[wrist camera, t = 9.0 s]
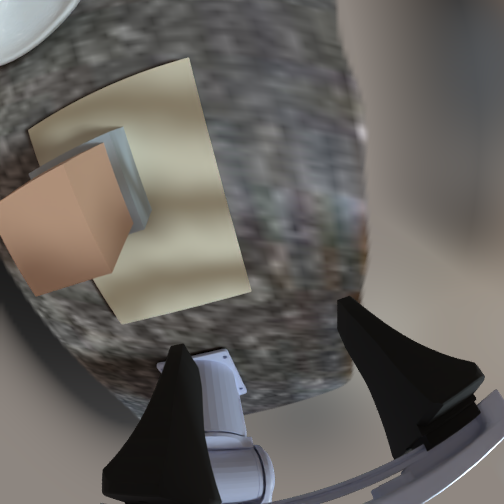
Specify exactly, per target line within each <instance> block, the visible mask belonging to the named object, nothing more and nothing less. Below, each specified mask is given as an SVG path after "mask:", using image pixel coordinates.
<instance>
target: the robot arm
mask: <svg viewBox="0 0 504 504" xmlns="http://www.w3.org/2000/svg"><path fill="white" fill-rule="evenodd" d="M337 329H338V332H339V334H340V336H341V339H342V341H343V343H344V345H345V348H346V349H347V351H348V353H349V355H350V356H351V358H352V360H353V361H354V363H355V365H356V367H357V368H358V370H359V372H360V373H361V375H362V377H363V378H364V380H365V382H366V384H367V386H368V388H369V390H370V392H371V395H372V397H373V400H374V402H375V405H376V407H377V410H378V412H379V415H380V418H381V421H382V424H383V426H384V429H385V432H386V436H387V439H388V442H389V445H390V449H391V453H392V456H393V458H394V460H393V461H391V462H389V463H387V464H385V465H382V466H380V467H378V468H376V469H374V470H371V471H369V472H367V473H364V474H362V475H360V476H357V477H355V478H352V479H349V480H347V481H344V482H341V483H338V484H336V485H333V486H330V487H327V488H324V489H320V490H317V491H314V492H311V493H307V494H303V495H300V496H296V497H292V498H288V499H283V500H279V501H274V502H272V492H273V489H274V483H275V476H274V469H273V465H272V462H271V459H270V457H269V455H268V454H267V452H266V451H264V450H263V448H262V447H260V446H259V445H253V441H252V437H246V435H247V434H246V427H245V421H244V416H243V411H242V406H241V400H240V395H241V394H245V393H246V392H247V390H246V387H245V385H244V383H243V381H242V379H241V377H240V375H239V373H238V371H237V369H236V367H235V365H234V363H233V361H232V359H231V356H230V354H229V352H228V350H226V349H220V350H216V351H211V352H207V353H203V354H198V355H194V356H191V355H190V353H189V352H188V350H187V348H186V347H185V345H184V344H179V345H174V346H171V347H170V350H169V353H168V356H167V359H166V361H165V362H159V363H157V369H158V370H159V371H160V372H161V375H160V378H159V381H158V383H157V386H156V388H155V391H154V393H153V395H152V397H151V400H150V402H149V404H148V406H147V408H146V410H145V412H144V414H143V416H142V418H141V420H140V422H139V423H138V425H137V426H136V428H135V430H134V431H133V433H132V434H131V436H130V437H129V439H128V440H127V442H126V443H125V444H124V446H123V447H122V448H121V450H120V451H119V452H118V454H117V455H116V456H115V457H114V458H113V459H112V460H111V461H110V462H109V464H108V465H107V466H106V467H105V468H104V469H103V473H102V493H103V494H104V495H105V496H107V497H110V498H113V499H116V500H119V501H122V502H125V504H320V503H324V502H327V501H330V500H333V499H336V498H339V497H342V496H345V495H347V494H350V493H353V492H355V491H358V490H360V489H363V488H365V487H367V486H370V485H372V484H375V483H376V482H379V481H381V480H383V479H385V478H388V477H390V476H391V475H394V474H396V473H398V472H400V471H402V470H403V471H402V472H401V475H400V476H398V477H396V478H394V479H392V480H390V481H388V482H386V483H384V484H382V485H380V486H379V487H377V488H375V489H373V490H372V491H371V493H372V495H373V500H371V501H368V502H365V503H363V504H424V503H425V502H427V501H429V500H430V499H432V498H433V497H434V496H436V495H437V494H439V493H440V492H442V491H443V490H445V489H446V488H447V487H449V486H450V485H451V484H453V483H454V482H455V481H457V480H458V479H459V478H460V477H462V476H463V475H464V474H465V473H467V472H468V471H469V470H470V469H471V468H473V467H474V466H475V465H476V464H477V463H478V462H480V461H481V460H482V459H483V458H484V457H485V456H486V455H487V454H488V453H489V452H490V451H491V450H492V449H494V447H496V446H497V445H498V444H499V443H500V442H501V441H502V440H503V439H504V399H503V398H502V396H501V395H500V393H499V392H498V390H497V389H496V390H494V391H493V392H492V393H490V394H489V395H488V396H487V397H486V398H485V399H483V400H482V401H481V402H480V403H479V404H478V405H476V404H475V402H474V401H475V400H476V397H475V396H474V392H475V391H476V390H477V389H478V387H479V386H480V385H481V384H482V382H483V381H484V378H485V376H484V374H483V373H482V372H481V370H480V369H479V367H478V366H477V365H476V364H475V363H474V362H470V361H465V360H461V359H457V358H454V357H451V356H448V355H445V354H442V353H439V352H437V351H435V350H432V349H430V348H427V347H425V346H423V345H421V344H419V343H417V342H415V341H413V340H411V339H409V338H408V337H406V336H404V335H402V334H401V333H399V332H398V331H396V330H395V329H393V328H392V327H390V326H388V325H387V324H385V323H384V322H383V321H381V320H380V319H379V318H377V317H376V316H375V315H373V314H372V313H371V312H369V311H368V310H367V309H366V308H364V307H363V306H362V305H361V304H359V303H358V302H357V301H356V300H354V299H353V298H352V297H350V296H348V297H345V298H342V299H339V300H337ZM100 504H104V503H100Z"/></svg>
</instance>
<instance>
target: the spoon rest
mask: <svg viewBox="0 0 504 504" xmlns="http://www.w3.org/2000/svg"><path fill="white" fill-rule="evenodd" d="M80 1H81V0H0V66H2V65H5V64H7V63H9V62H12V61H14V60H16V59H18V58H19V57H21V56H23V55H24V54H26V53H28V52H29V51H31V50H32V49H33V48H35V47H36V46H37V45H39V44H40V43H41V42H42V41H44V40H45V39H46V38H47V37H48V36H49V35H50V34H51V33H53V32H54V31H55V30H56V29H57V28H58V27H59V26H60V25H61V24H62V23H63V22H64V21H65V19H66V18H67V17H68V16H69V15H70V14H71V13H72V11H73V10H74V9H75V8H76V6H77V5H78V3H79V2H80Z"/></svg>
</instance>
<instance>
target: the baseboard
mask: <svg viewBox="0 0 504 504" xmlns="http://www.w3.org/2000/svg"><path fill="white" fill-rule="evenodd" d="M28 132H29V135H30V139H31V142H32V145H33V148H34V151H35V154H36V157H37V160H38V163H39V166H40V167H39V168H37V169H35V170H34V171H32V172H30V173H29V177H30V179H33V178H35V177H36V176H38V175H40V174H41V173H43V172H45V171H47V170H48V169H50V168H52V167H54V166H56V165H58V164H60V163H62V162H63V161H65V160H67V159H69V158H71V157H73V156H75V155H77V154H79V153H82V152H84V151H86V150H88V149H90V148H92V147H94V146H97V145H99V144H101V143H104V145H105V148H106V151H107V154H108V157H109V160H110V163H111V166H112V169H113V172H114V174H115V177H116V180H117V183H118V185H119V188H120V191H121V193H122V196H123V198H124V201H125V204H126V206H127V209H128V211H129V214H130V216H131V218H132V221H133V226H132V228H131V230H130V232H129V234H128V237H127V239H126V241H125V243H124V246H123V248H122V250H121V253H120V255H119V257H118V260H117V262H116V265H115V267H114V270H113V272H112V273H110V274H107V275H104V276H100V277H97V278H94V279H93V280H94V282H95V284H96V285H97V287H98V289H99V290H100V292H101V293H102V295H103V297H104V298H105V300H106V301H107V303H108V305H109V306H110V308H111V309H112V311H113V312H114V314H115V315H116V317H117V318H118V320H119V321H120V323H121V324H126V323H130V322H134V321H139V320H143V319H147V318H151V317H156V316H160V315H164V314H168V313H172V312H176V311H180V310H184V309H188V308H192V307H196V306H199V305H203V304H207V303H211V302H215V301H218V300H222V299H226V298H230V297H233V296H237V295H241V294H244V293H248V292H251V287H250V284H249V280H248V277H247V273H246V270H245V266H244V263H243V259H242V255H241V252H240V248H239V245H238V241H237V237H236V234H235V230H234V226H233V223H232V219H231V216H230V212H229V208H228V205H227V201H226V197H225V194H224V190H223V186H222V182H221V179H220V175H219V171H218V168H217V164H216V160H215V156H214V153H213V149H212V145H211V141H210V138H209V134H208V130H207V126H206V122H205V119H204V115H203V111H202V107H201V103H200V99H199V95H198V92H197V88H196V84H195V80H194V76H193V72H192V68H191V64H190V60H189V58H185V59H181V60H178V61H175V62H171V63H168V64H165V65H162V66H159V67H156V68H153V69H150V70H147V71H144V72H141V73H139V74H136V75H133V76H131V77H128V78H126V79H123V80H121V81H119V82H116V83H114V84H111V85H109V86H107V87H105V88H103V89H100V90H98V91H96V92H94V93H92V94H90V95H88V96H86V97H84V98H82V99H80V100H78V101H76V102H74V103H72V104H70V105H69V106H67V107H65V108H63V109H61V110H60V111H58V112H56V113H54V114H53V115H51V116H49V117H48V118H46V119H44V120H43V121H41V122H40V123H38V124H37V125H35V126H33V127H32V128H30V129H29V130H28Z"/></svg>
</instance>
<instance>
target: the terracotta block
mask: <svg viewBox="0 0 504 504" xmlns="http://www.w3.org/2000/svg"><path fill="white" fill-rule="evenodd" d="M132 226H133V221H132V218H131V216H130V214H129V211H128V209H127V206H126V204H125V201H124V198H123V196H122V193H121V191H120V188H119V185H118V183H117V180H116V177H115V174H114V172H113V169H112V166H111V163H110V160H109V157H108V154H107V151H106V148H105V145H104V143H101V144H99V145H97V146H94V147H92V148H90V149H88V150H86V151H84V152H82V153H79V154H77V155H75V156H73V157H71V158H69V159H67V160H65V161H63V162H62V163H60V164H58V165H56V166H54V167H52V168H50V169H48V170H47V171H45V172H43V173H41V174H40V175H38V176H36V177H35V178H33V179H31V180H30V181H28V182H27V183H25V184H24V185H22V186H21V187H19V188H18V189H16V190H15V191H13V192H12V193H10V194H9V195H7V196H6V197H5V198H3V199H2V200H1V201H0V235H1V237H2V239H3V241H4V243H5V245H6V247H7V249H8V251H9V253H10V255H11V256H12V258H13V260H14V262H15V264H16V265H17V267H18V269H19V270H20V272H21V274H22V275H23V277H24V279H25V280H26V282H27V284H28V285H29V287H30V288H31V290H32V291H33V293H34V294H35V296H39V295H42V294H46V293H49V292H52V291H55V290H58V289H61V288H65V287H68V286H71V285H74V284H78V283H81V282H84V281H87V280H91V279H94V278H97V277H100V276H104V275H107V274H110V273H112V272H113V270H114V267H115V265H116V262H117V260H118V257H119V255H120V253H121V250H122V248H123V246H124V243H125V241H126V239H127V237H128V234H129V232H130V230H131V228H132Z"/></svg>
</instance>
